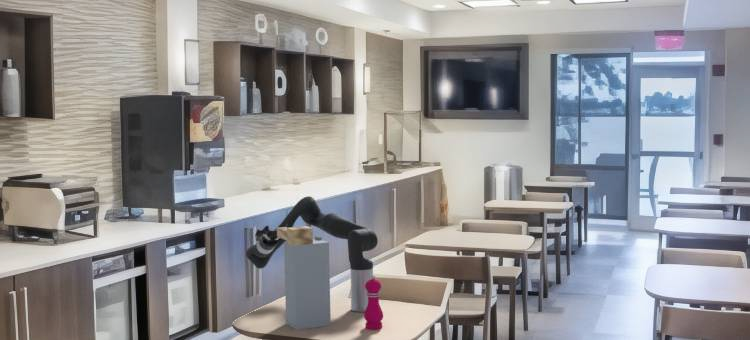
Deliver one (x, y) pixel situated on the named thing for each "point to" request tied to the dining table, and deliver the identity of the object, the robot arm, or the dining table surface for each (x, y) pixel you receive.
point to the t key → (296, 235)
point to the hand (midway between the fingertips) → (277, 226)
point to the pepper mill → (373, 305)
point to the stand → (307, 284)
